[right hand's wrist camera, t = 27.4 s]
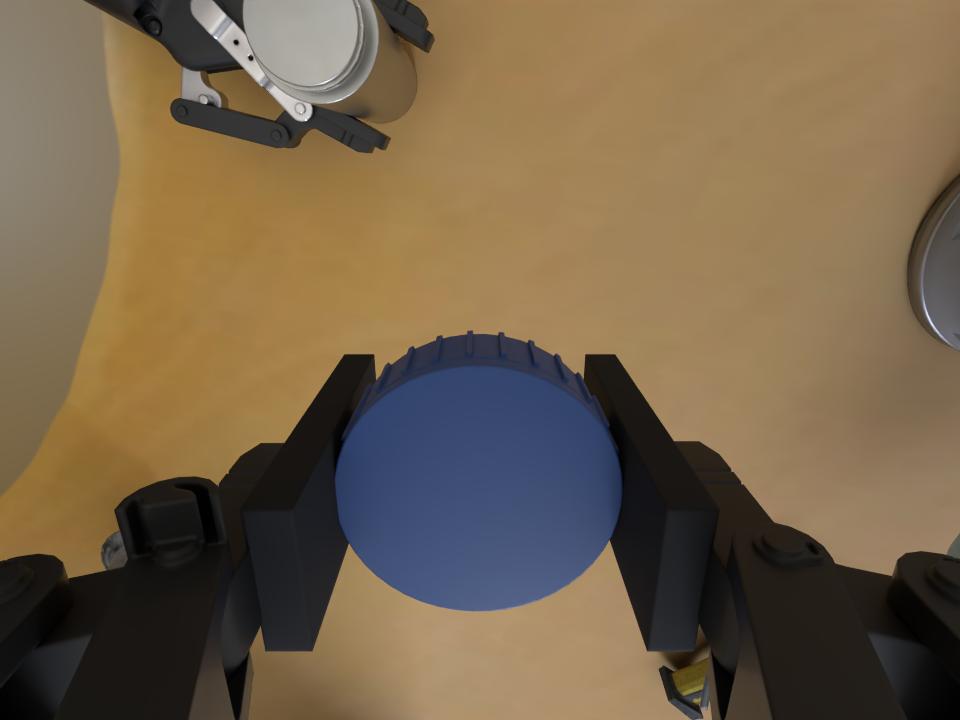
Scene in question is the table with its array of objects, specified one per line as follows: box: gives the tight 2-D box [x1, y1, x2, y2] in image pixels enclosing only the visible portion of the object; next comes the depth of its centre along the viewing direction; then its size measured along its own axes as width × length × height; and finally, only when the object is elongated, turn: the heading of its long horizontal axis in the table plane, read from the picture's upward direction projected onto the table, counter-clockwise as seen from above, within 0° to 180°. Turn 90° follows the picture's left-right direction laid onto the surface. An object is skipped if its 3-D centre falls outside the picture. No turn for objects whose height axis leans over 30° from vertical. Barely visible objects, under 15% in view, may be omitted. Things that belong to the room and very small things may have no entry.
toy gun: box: [659, 657, 710, 720], centre depth 52 cm, size 5×24×15 cm
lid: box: [335, 331, 623, 611], centre depth 11 cm, size 6×6×2 cm
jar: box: [242, 0, 417, 123], centre depth 26 cm, size 5×5×17 cm
